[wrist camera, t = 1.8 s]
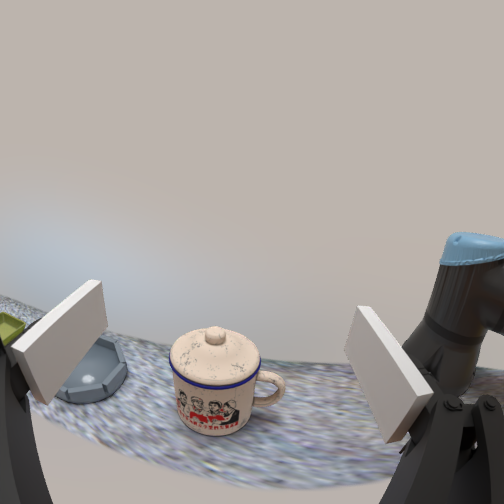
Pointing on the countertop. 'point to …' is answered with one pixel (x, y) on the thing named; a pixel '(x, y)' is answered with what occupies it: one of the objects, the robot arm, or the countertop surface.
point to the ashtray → (96, 373)
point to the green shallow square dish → (10, 327)
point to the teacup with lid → (218, 380)
